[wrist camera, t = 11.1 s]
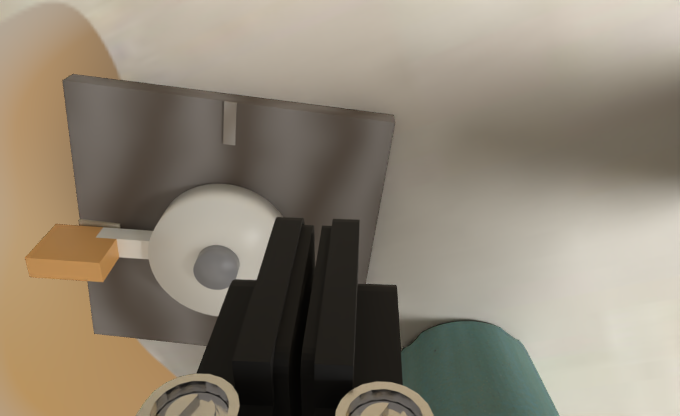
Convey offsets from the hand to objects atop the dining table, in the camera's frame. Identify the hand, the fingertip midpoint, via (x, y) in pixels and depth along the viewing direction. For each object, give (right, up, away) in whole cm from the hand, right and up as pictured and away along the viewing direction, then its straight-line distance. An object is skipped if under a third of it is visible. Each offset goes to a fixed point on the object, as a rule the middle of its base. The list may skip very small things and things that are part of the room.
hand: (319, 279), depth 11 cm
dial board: (-8, 0, +32) cm, 33 cm away
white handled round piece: (-12, -1, +30) cm, 33 cm away
